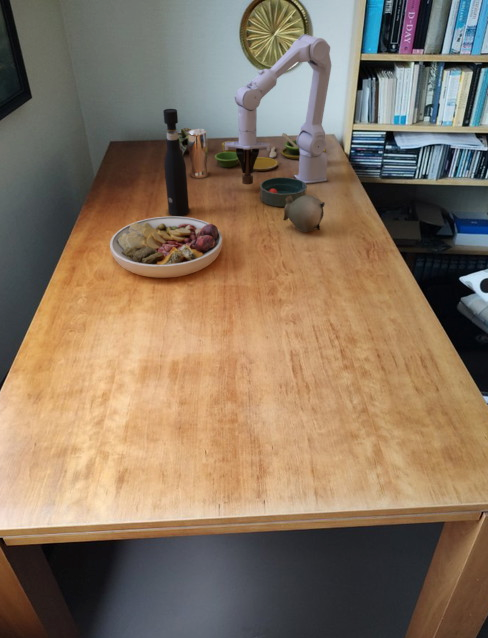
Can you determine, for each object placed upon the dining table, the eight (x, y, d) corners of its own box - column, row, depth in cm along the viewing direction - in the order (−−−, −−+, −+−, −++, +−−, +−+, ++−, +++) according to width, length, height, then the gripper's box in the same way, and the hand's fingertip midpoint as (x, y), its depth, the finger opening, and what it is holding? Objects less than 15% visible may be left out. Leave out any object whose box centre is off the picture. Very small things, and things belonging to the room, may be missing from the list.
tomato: (271, 195, 178) (268, 200, 181) (279, 194, 179) (276, 199, 182) (268, 187, 179) (266, 192, 182) (277, 186, 180) (274, 191, 183)
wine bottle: (190, 208, 176) (183, 107, 157) (187, 216, 171) (179, 113, 152) (171, 207, 177) (161, 107, 158) (166, 216, 172) (156, 113, 153)
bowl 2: (295, 188, 189) (296, 175, 187) (312, 204, 178) (313, 191, 175) (253, 193, 186) (253, 180, 183) (268, 210, 175) (268, 196, 172)
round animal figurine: (294, 219, 170) (296, 186, 163) (329, 227, 165) (333, 194, 158) (278, 231, 163) (279, 197, 156) (315, 240, 158) (318, 206, 152)
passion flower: (190, 164, 224) (206, 139, 218) (182, 168, 214) (199, 142, 209) (168, 146, 222) (183, 120, 216) (159, 149, 213) (175, 122, 207)
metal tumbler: (208, 178, 197) (206, 134, 187) (189, 178, 197) (185, 134, 187) (209, 171, 202) (207, 128, 192) (190, 171, 202) (188, 128, 192)
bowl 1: (118, 290, 137) (113, 262, 132) (108, 239, 159) (104, 213, 154) (234, 274, 143) (233, 246, 138) (209, 227, 165) (208, 201, 160)
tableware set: (326, 150, 220) (327, 134, 216) (323, 175, 199) (325, 157, 195) (224, 146, 224) (224, 130, 220) (211, 170, 203) (211, 152, 199)
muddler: (252, 181, 187) (252, 147, 180) (253, 184, 184) (253, 149, 177) (241, 181, 186) (241, 147, 180) (242, 184, 183) (242, 149, 177)
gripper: (223, 132, 172) (224, 175, 180) (269, 133, 171) (268, 176, 180) (225, 126, 177) (226, 168, 186) (270, 126, 177) (269, 169, 185)
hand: (247, 172), depth 183 cm, fingers closed on muddler, 2 cm apart
